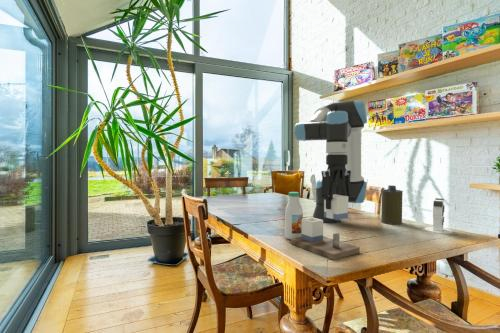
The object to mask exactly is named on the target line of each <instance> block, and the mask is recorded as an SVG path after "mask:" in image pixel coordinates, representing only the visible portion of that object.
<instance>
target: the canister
mask: <svg viewBox="0 0 500 333" xmlns="http://www.w3.org/2000/svg"><path fill="white" fill-rule="evenodd" d="M387 186H388V187H387V189H381V191H380V192H381V207H380V208H381V210H380V211H381V212H380V213H381V214H380V215H381V219H380V223H382V224H386V225H392V226H398V225H403V192H404V191H403V190H400V189H397V187H396V185H387Z"/></svg>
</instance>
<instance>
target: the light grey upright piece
mask: <svg viewBox="0 0 500 333" xmlns="http://www.w3.org/2000/svg"><path fill="white" fill-rule="evenodd" d="M444 200H445V199H444V198H438V197H435V199H434V200H433V204H432V205H433V208H432V219H433V220H432V222H433V223H432V226H426V227H424V229H423V230H424V231H426V232H429V233H434V234H441V235H442V234H444V235H447V234H448V235H449V234H452V233H453V230H451V229H448V228H444V223H445V216H444V214H445V204H444V203H445V202H444Z"/></svg>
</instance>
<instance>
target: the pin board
mask: <svg viewBox="0 0 500 333" xmlns="http://www.w3.org/2000/svg"><path fill="white" fill-rule="evenodd" d="M290 244H291V245H293V246H295V247H298V248H301V249H304V250H307V251H309V252H311V253H314V254H316V255H320V256H322V257H325V258H326V259H330V260H331V261H337V260H339V259H342V258H346V257H349V256H353V255H357V254H359V253H361V252H360V251H361V250H360V248H361V247H360V246H356V245H353V244H350V243H346V242H343V241H340V233H339V232H332V238H330V237H327V236H324V235H323V240H320V241H316V242H310V241H307V240H304V239H302V237H298V238H293V239H290Z"/></svg>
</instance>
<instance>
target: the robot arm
mask: <svg viewBox="0 0 500 333" xmlns="http://www.w3.org/2000/svg"><path fill="white" fill-rule="evenodd" d="M367 123H368V117H367V109H366V103H365V102H364V101H363V100H349V101H336V102H330V103H327V104H324V105H322V106H321V107H319V108H318V109H316V111H315V112H314V114H313V116H311V117H310V118H309V119H308V120H307V121H306V122H297V123H296V124H295V126H294V130H293V131H294V137H295V140H297V141H300V142H301V141H303V142H305V141H326V142H325V144H326V145H325V146H326V148H325V154H326V156H325V164H326V165H327V169H326V170H321V179H318V180H317V181H316V185H315V209H314V211H313V214H312V218H317V219H321V220H323V223H338V222H340V221H341V220H342V219H340V220H335V219H334V200H332V198H333V195H343V196H348V204H349V203H350V204H351V203H352V204H363V203H364V202H365V199H366V192H367V188H368V187H367V186H368V182H367V181H365V178H364V176H362V130H363V129H364V128H365V125H366V124H367ZM324 200H326V217H324ZM330 218H331V219H330Z"/></svg>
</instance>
